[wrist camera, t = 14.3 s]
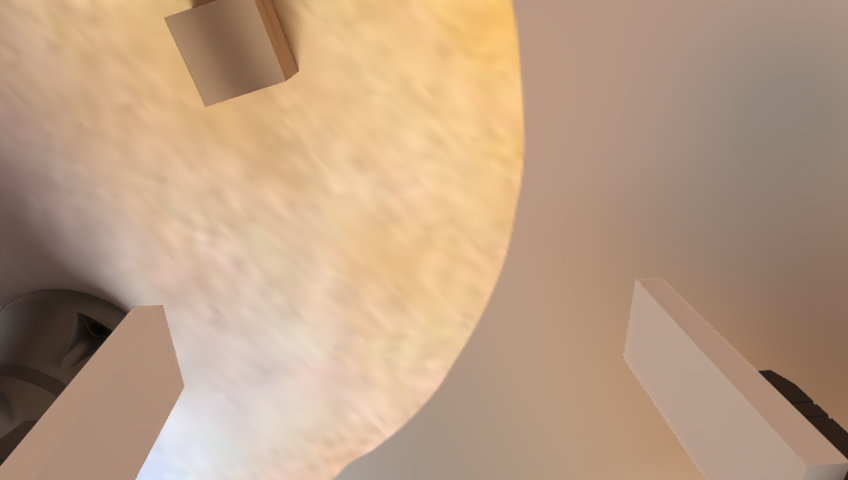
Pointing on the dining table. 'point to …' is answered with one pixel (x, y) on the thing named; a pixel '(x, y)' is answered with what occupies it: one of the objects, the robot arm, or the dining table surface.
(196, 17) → the walnut cube
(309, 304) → the dining table surface
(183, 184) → the dining table surface
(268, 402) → the dining table surface
